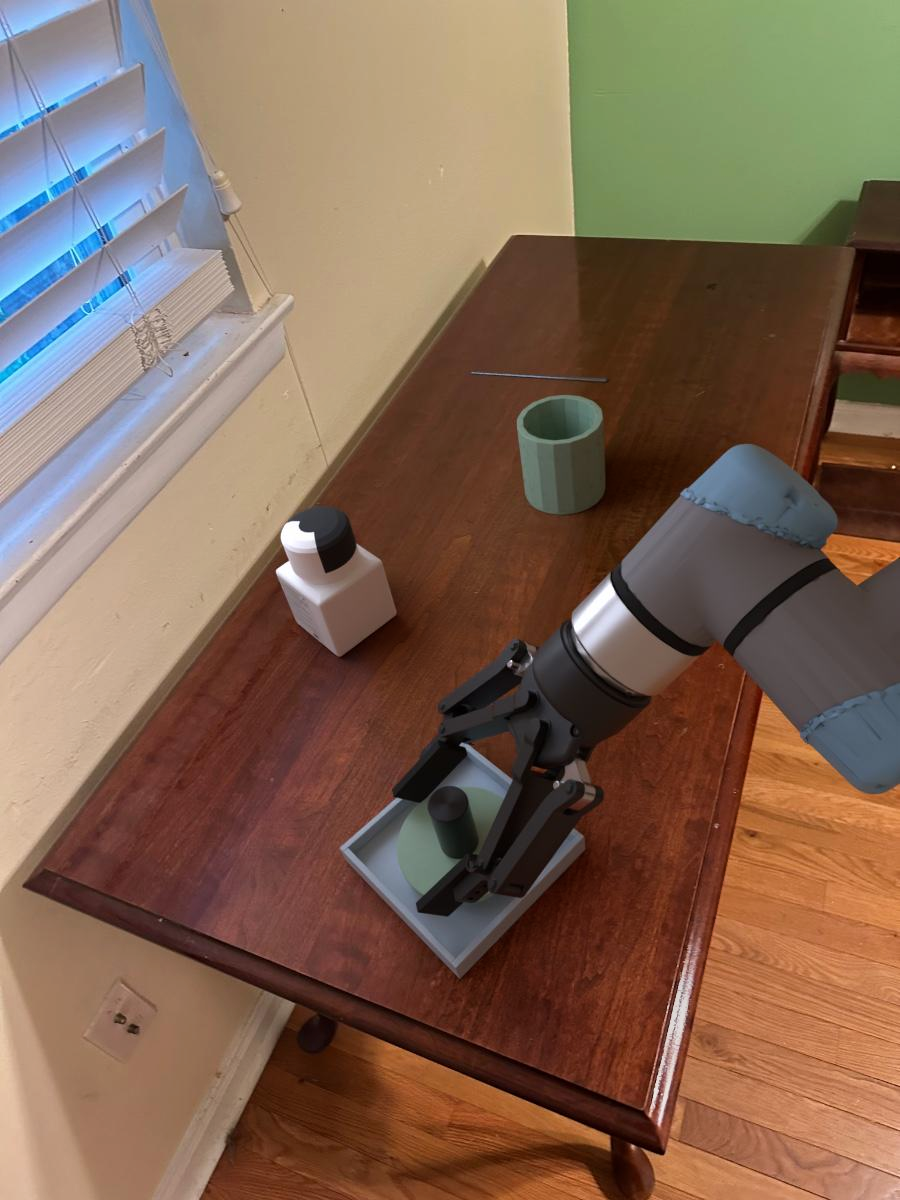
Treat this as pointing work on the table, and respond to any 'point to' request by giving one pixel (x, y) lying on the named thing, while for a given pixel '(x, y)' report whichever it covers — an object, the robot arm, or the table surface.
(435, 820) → the lid
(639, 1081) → the table surface
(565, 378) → the rod
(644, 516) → the table surface
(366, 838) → the tray
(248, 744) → the table surface
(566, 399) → the faceted green cup
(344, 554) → the container
